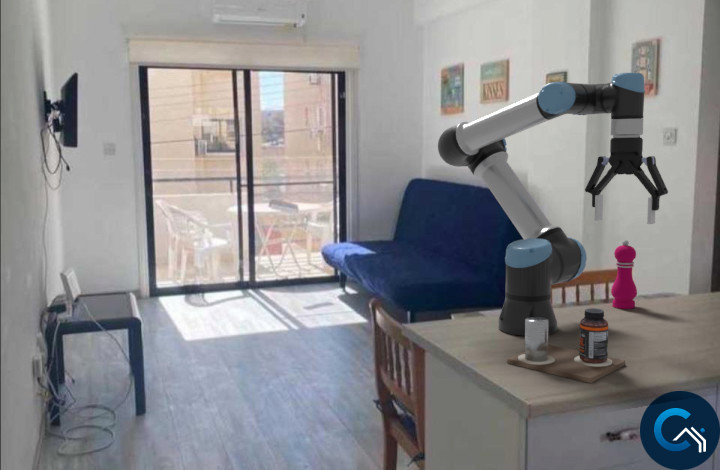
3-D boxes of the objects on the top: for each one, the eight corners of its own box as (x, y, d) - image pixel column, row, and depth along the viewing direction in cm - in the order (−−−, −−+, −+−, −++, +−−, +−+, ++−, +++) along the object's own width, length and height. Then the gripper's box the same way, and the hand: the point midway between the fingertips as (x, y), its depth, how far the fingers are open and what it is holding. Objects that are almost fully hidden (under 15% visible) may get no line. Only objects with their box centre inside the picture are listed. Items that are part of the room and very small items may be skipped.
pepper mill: (638, 309, 204) (640, 241, 201) (612, 309, 205) (614, 241, 202) (634, 304, 211) (636, 238, 208) (609, 303, 212) (610, 238, 209)
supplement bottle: (575, 356, 158) (576, 307, 156) (602, 355, 157) (603, 306, 156) (583, 364, 152) (584, 313, 150) (611, 364, 152) (612, 313, 150)
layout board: (507, 362, 157) (507, 357, 157) (544, 347, 169) (544, 342, 168) (590, 383, 143) (590, 377, 143) (624, 364, 155) (625, 359, 154)
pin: (520, 359, 157) (520, 320, 155) (532, 354, 160) (532, 316, 159) (540, 364, 153) (540, 324, 152) (552, 358, 157) (552, 319, 155)
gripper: (684, 135, 167) (680, 223, 170) (586, 137, 185) (585, 217, 187) (672, 135, 162) (668, 226, 165) (572, 137, 179) (571, 220, 182)
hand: (624, 222), depth 176 cm, fingers open, 13 cm apart
